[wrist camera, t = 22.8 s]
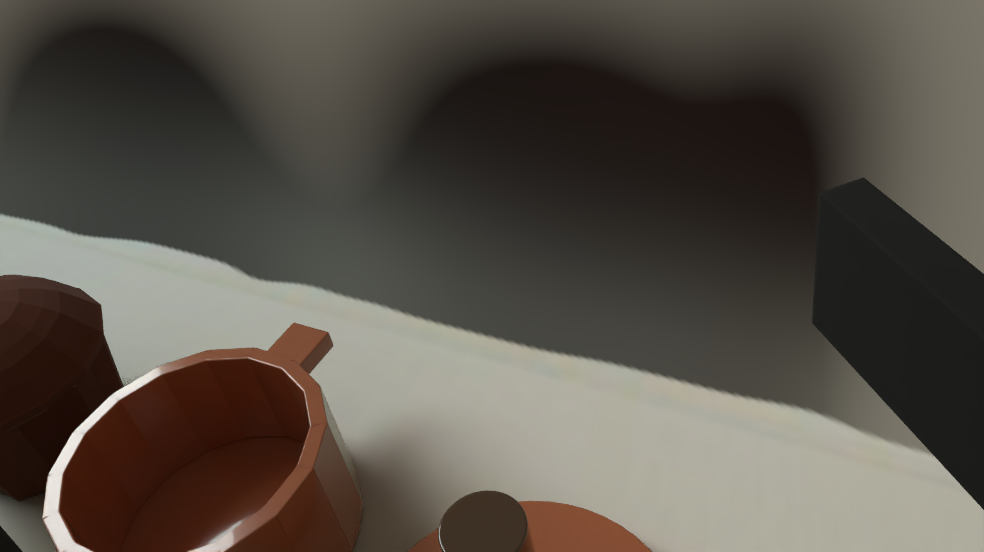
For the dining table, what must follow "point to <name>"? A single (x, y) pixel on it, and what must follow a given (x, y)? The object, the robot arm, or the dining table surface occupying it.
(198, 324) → the dining table surface
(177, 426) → the cooking pot
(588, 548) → the lid
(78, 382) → the muffin
